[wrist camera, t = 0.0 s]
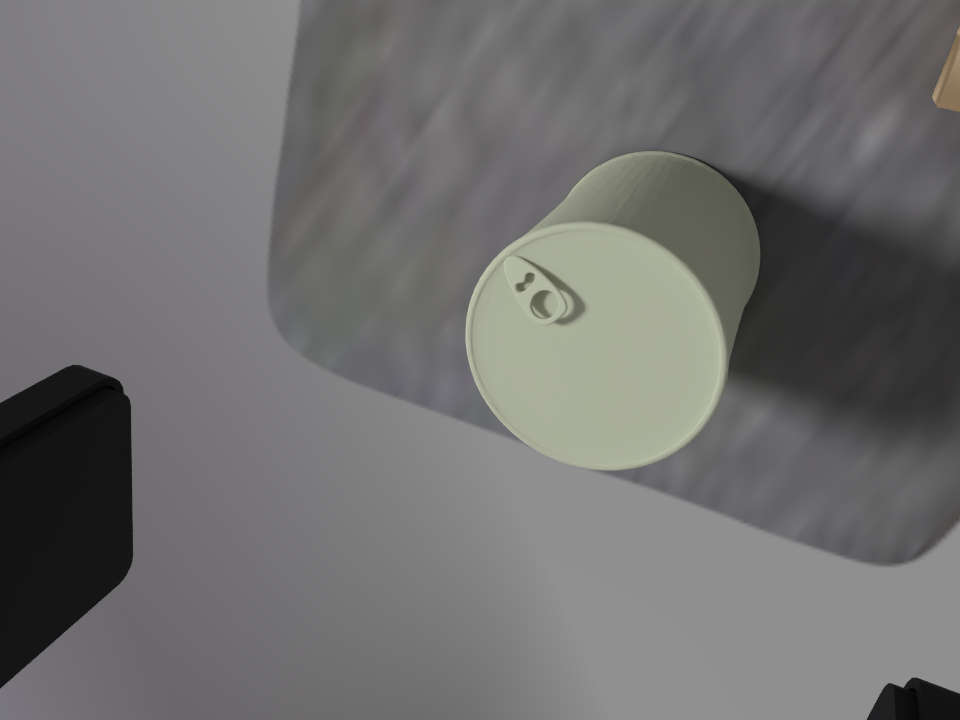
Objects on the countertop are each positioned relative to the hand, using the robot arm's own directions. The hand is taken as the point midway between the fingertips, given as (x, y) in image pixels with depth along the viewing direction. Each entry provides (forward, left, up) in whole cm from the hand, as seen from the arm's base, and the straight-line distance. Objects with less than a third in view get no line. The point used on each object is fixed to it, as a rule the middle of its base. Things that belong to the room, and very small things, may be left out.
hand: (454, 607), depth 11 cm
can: (+6, -2, -32) cm, 32 cm away
